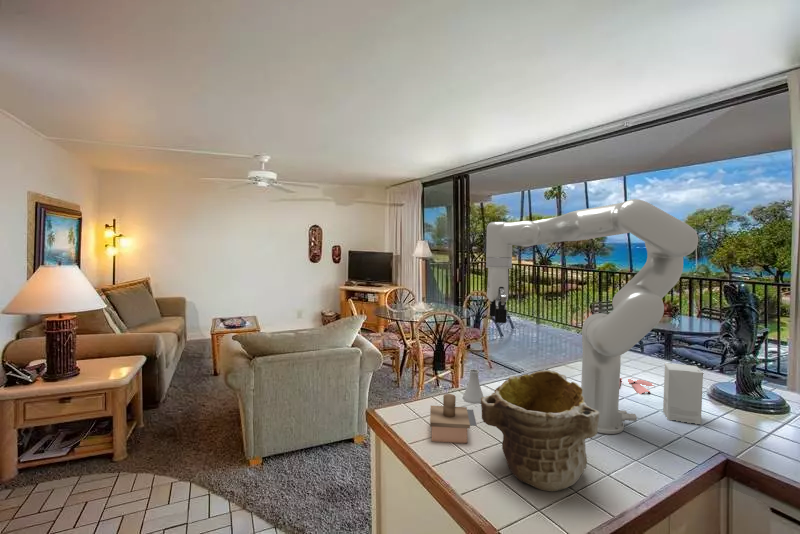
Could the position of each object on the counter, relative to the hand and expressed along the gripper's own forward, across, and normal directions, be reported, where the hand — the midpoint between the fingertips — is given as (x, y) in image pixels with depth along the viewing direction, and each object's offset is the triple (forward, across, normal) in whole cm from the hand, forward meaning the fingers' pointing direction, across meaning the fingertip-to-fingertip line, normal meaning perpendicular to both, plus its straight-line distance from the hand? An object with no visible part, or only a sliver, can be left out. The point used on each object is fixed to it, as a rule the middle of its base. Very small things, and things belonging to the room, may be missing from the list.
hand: (497, 319), depth 113 cm
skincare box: (+29, 0, +54) cm, 61 cm away
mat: (+28, +7, -12) cm, 31 cm away
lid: (+24, +17, -15) cm, 33 cm away
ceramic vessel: (+28, +31, +3) cm, 42 cm away
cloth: (+29, -24, +51) cm, 63 cm away
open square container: (+28, +17, -15) cm, 36 cm away
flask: (+28, -6, -6) cm, 30 cm away
